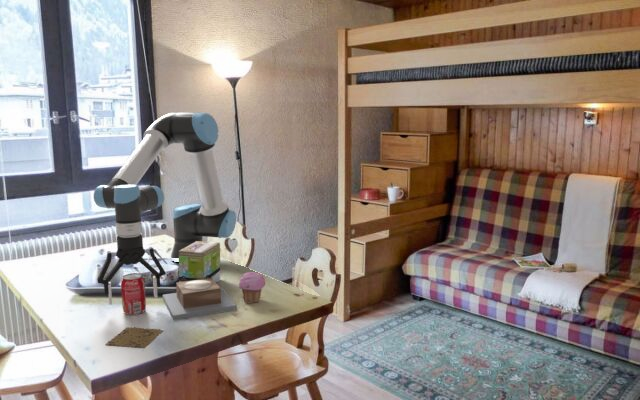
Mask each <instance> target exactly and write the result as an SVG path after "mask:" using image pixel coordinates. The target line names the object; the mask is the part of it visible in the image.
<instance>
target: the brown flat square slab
mask: <svg viewBox="0 0 640 400" xmlns="http://www.w3.org/2000/svg"><path fill="white" fill-rule="evenodd" d="M163 332H164V329H159V328H158V329H157V328H143V327H142V328H141V327H135V326H134V327H125V328H124V329H122V331H120V332H119V333H118V334H116V336H114V337H113V338H111V339H110V340H108V342H107V343H105V344H104V345H105V346H107V347H108V346H109V347H110V346H111V347H121V348H132V349H133V348H135V349H146V347H148V346H149V345H150V344H151V343H152V342H153V341H154V340H156V339H157V336H158V337H159V336H160V335H161V334H162V333H163ZM159 334H160V335H159Z"/></svg>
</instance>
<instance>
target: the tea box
mask: <svg viewBox="0 0 640 400" xmlns="http://www.w3.org/2000/svg"><path fill="white" fill-rule="evenodd" d="M178 274H179V276H178V278H179V280H178V282H184V281H191V280H198V279H205V278H212V279H213V280H214V281H215V282H216V283H217V282H219V281H220V280H221V243H220V242H215V241H214V242H213V241H203V242H202V241H196V242H194V243H192V244H190V245H189V246H187V247H185V248H183V249H181V250H179V263H178Z"/></svg>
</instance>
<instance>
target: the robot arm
mask: <svg viewBox="0 0 640 400" xmlns="http://www.w3.org/2000/svg"><path fill="white" fill-rule="evenodd" d="M217 123H218V122H217V121H216V119H215V117H214V116H213V115H211V114H210V113H208V112H200V111H196V112H178V111H176V112H174V111H173V112H169V113H167V114H164V115H162V116H160V117H159V118H158V119H156V120H155V121H154V122H153V123H151V124H150V125H149V126H148V128H146V130H145V131H144V132H143V139H142V140H141V141H140V142H139V143H138V145H137V146H136V147H135V149H134V150H133V152H132V153H131V154H130V156H129V157H128V158H127V159H126V161H125V162H124V163H123V165H122V166H121V167H120V169H119V170H118V171H117V172H116V174H115V175H114V176H113V177H112V179H111V180H110V182H108V184H101V185H98V186H97V187H96V188H95V190H94V192H93V201H94V203H95V205H96V206H97V207H98V208H104V209H114V213H115V230H116V231H115V232H116V235H117V237H116V244H117V248H116V249H117V250H116V251H110V250H108V251H107V252H106V259H105V260H104V263H103V265H102V267H101V269H100V272H99V274H98V277H97V279H96V280H97V284H103V289H104V291H103V292H104V294H105V295H108V303H109V305H110V306H111V305H113V295H112V293H113V292H112V284H111V280H112V279H113V278H114V277H115V275H116V274H117V272H119V270H120V269H121V268H122V267H123V266H124V265H126V266H129V265H137V264H141V265H142V266H143V267H144V268H145V269H147V270H148V271H149V272H150V273H152V274H153V275H152V284H153V287H152V288H153V297H154V298H155V299H158V288H160V287H161V277H162V276H165V275H166V271H165V269H164V268H163V266H162V264H161V263H160V261H159V259H158V258H157V256H156V254H155V251H154V248H153V247H152V246H149V247H148V248H144V243H143V241H144V240H143V235H142V233H143V229H142V227H143V226H142V213H145V212H148V211H152V210H155V209H157V208H160V207H161V206H162V205H163V203H164V202H165V195H164V194H165V193H164V191H163V190H162V189H161V188H160V187H159V186H156V185H148V186H139V185H138V184H139V182H140V181H141V180H142V178H143V176H144V175H145V174H146V172H147V171H148V170H149V168H150V166H151V165H152V164H153V163H154V161H155V160H156V159H157V157H158V156H159V154H160V153H161V152H162V151H164V150H166V149H167V148H168V146H170V145H172V144H173V145H174V144H182V145H183V148H184V151H185V152H186V153H188V154H189V157H190V160H191V163H192V164H191V165H192V169H193V172H194V178H195V181H196V185H197V190H198V194H199V197H200V202H201V204H198V203H193V204H192V203H191V204H186V205H182V206H177V207H176V208H174V210H173V214H172V221H173V222H172V223H173V235H174V243H173V247H172V251H171V253H170V259H171V258H179V250H181V249H183V248H185V247H187V246H189V245H190V244H192V243H194V242H196V241H202V242H204V240H203V237H208V238H218V239H227V238H230V237H231V236H232V235H233V233H234V231H235V228H236V224H237V215H236V212H235V211H234V210H232V209H229V204H228V203H227V202H226V201H224V198H223V194H222V188H221V186H220V185H221V184H220V180H219V175H218V171H217V165H216V161H215V157H214V153H213V149H214V147H215V146H216V143H217V142H218V139H219V127H218V124H217ZM145 254H147V255H148V256H150V258H151V260H152V262H154V264H155V265H156V267H157V269H158V270H159V271H157V270H156V269H155V268H154V267H153V266H152V265H151V264H149V263H148V261H146V259H145V258H143V257H144V255H145ZM115 257H117V258H118V260H117V262H116V263H115V265H114V266H113V267H112V269H111V270H110V271H109V272H108V274H107V271H108V269H109V267H110V264H111V262H112V260H114V259H115ZM106 274H107V275H106Z"/></svg>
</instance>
